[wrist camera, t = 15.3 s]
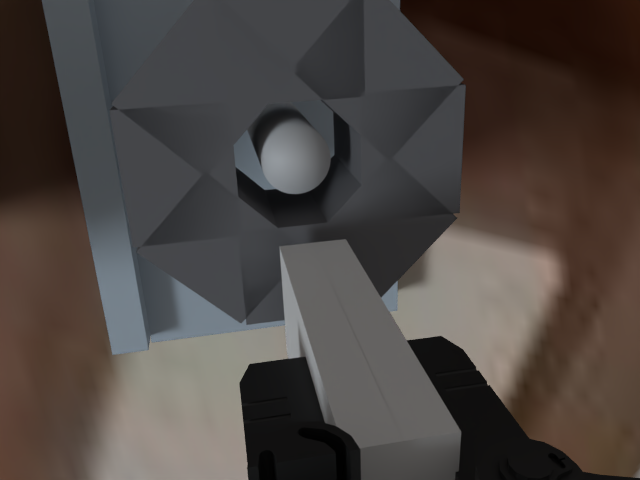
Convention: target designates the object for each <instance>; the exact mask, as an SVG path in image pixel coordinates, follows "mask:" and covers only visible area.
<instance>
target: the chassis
mask: <svg viewBox="0 0 640 480" xmlns="http://www.w3.org/2000/svg"><path fill="white" fill-rule="evenodd" d="M390 1H391V2H392V3H393V4H394V5H395V6H396V7H397V8H398V9H399V10H400V0H390ZM192 2H193V0H42V4H43V9H44V14H45V19H46V24H47V29H48V34H49V39H50V44H51V49H52V54H53V59H54V64H55V69H56V74H57V79H58V84H59V89H60V94H61V99H62V104H63V109H64V114H65V119H66V124H67V129H68V134H69V139H70V144H71V149H72V154H73V159H74V164H75V169H76V174H77V179H78V184H79V189H80V194H81V199H82V204H83V209H84V214H85V219H86V224H87V229H88V234H89V239H90V244H91V249H92V254H93V259H94V264H95V269H96V274H97V279H98V284H99V289H100V294H101V299H102V304H103V309H104V314H105V319H106V324H107V329H108V334H109V339H110V344H111V349H112V354H113V355H115V354H122V353H130V352H137V351H145V350H149V343H150V336H151V341H152V342H160V341H167V340H175V339H183V338H190V337H198V336H206V335H213V334H221V333H229V332H236V331H244V330H252V329H259V328H267V327H275V326H282V325H285V320H282V321H274V322H266V323H258V324H251V325H246V319H245V320H244V321H243V322H242V323H239V322H238V321H236V320H235V319H233V318H232V317H230V316H229V315H227V314H226V313H225V312H223V311H222V310H220V309H219V308H217V307H216V306H214V305H213V304H211V303H210V302H208V301H207V300H205V299H204V298H203V297H201V296H200V295H198V294H197V293H195V292H194V291H192V290H191V289H189V288H188V287H186V286H185V285H183V284H182V283H180V282H179V281H178V280H176V279H175V278H173V277H172V276H170V275H169V274H167V273H166V272H164V271H163V270H161V269H160V268H158V267H157V266H156V265H154V264H153V263H151V262H150V261H148V260H147V259H145V258H144V257H142V256H141V255H139V254H138V253H136V251H137V247H133V245H132V239H131V233H130V228H129V222H128V216H127V210H126V204H125V199H124V193H123V187H122V181H121V175H120V169H119V164H118V158H117V152H116V146H115V140H114V134H113V129H112V123H111V117H110V111H109V110H110V109H111V108H112V106H113V105H112V104H111V103H112V102H113V101H114V99H115V98H116V97H117V96H118V94H119V93H120V92H121V91H122V89H123V88H124V87H125V86H126V84H127V83H128V82H129V81H130V79H131V78H132V77H133V76H134V74H135V73H136V72H137V71H138V69H139V68H140V67H141V66H142V64H143V63H144V62H145V61H146V59H147V58H148V57H149V56H150V54H151V53H152V52H153V51H154V49H155V48H156V47H157V46H158V44H159V43H160V42H161V41H162V39H163V38H164V37H165V36H166V34H167V33H168V32H169V31H170V29H171V28H172V27H173V26H174V24H175V23H176V22H177V20H178V19H179V18H180V17H181V15H182V14H183V13H184V12H185V10H186V9H187V8H188V7H189V5H190V4H191V3H192ZM233 146H234V157H235V167H237V168H238V169H239V170H240V171H242V172H243V173H244V174H245V175H247V176H248V177H249V178H250V179H252V180H253V181H254V182H255V183H257V184H258V185H259V186H260V187H262V188H263V189H264V190H270V189H278V190H280V191H282V192H284V193H288V194H301V193H305V192H308V191H310V190H312V189H314V188H315V187H317V186H318V185H319V184H320V183H321V182H322V181H323V180H324V178H325V177H326V175H327V173H328V171H329V167H330V161H331V158H332V157H333V156H334V125H333V111H332V110H331V109H329V108H328V107H327V106H326V105H325V104H324V103H323V102H322V101H321V100H315V101H301V102H287V103H273V104H268V105H267V107H266V108H265V109H264V110H263V111H262V112H261V114H260V115H259V116H258V117H257V118H256V120H255V121H254V122H253V123H252V124H251V125H250V127H249V128H248V129H247V130H246V131H245V132H244V134H243V135H242V136H241V137H240V138H239V139H238V141H237V142H236V143H235V144H234V145H233ZM397 298H398V281H397V282H396V283H395V284H394V285H393V286H392V287H391V288H390V289H389V290H388V291H387V292H386V293H385V294H384V295H383V296H382V297H381V299H382V300H383V302H384V304H385V305H386V307H387V309H388V310H389V312H390V311H397Z"/></svg>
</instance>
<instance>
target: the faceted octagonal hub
mask: <svg viewBox="0 0 640 480" xmlns="http://www.w3.org/2000/svg"><path fill="white" fill-rule="evenodd" d="M463 80H464V79H463V78H462V77H461V76H460V75H459V74H458V73H457V72H456V70H455V69H454V68H453V67H452V66H451V65H450V64H449V63H448V62H447V61H446V60H445V59H444V58H443V57H442V55H441V54H440V53H439V52H438V51H437V50H436V49H435V48H434V47H433V46H432V45H431V44H430V43H429V42H428V40H427V39H426V38H425V37H424V36H423V35H422V34H421V33H420V32H419V31H418V30H417V29H416V28H415V27H414V25H413V24H412V23H411V22H410V21H409V20H408V19H407V18H406V17H405V16H404V15H403V14H402V13H401V12H400V10H399V9H398V8H397V7H396V6H395V5H394V4H393V3H392V2H391V1H390V0H193V2H192V3H191V4H190V5H189V7H188V8H187V9H186V10H185V12H184V13H183V14H182V15H181V17H180V18H179V19H178V20H177V22H176V23H175V24H174V26H173V27H172V28H171V29H170V31H169V32H168V33H167V34H166V36H165V37H164V38H163V39H162V41H161V42H160V43H159V44H158V46H157V47H156V48H155V49H154V51H153V52H152V53H151V54H150V56H149V57H148V58H147V59H146V61H145V62H144V63H143V64H142V66H141V67H140V68H139V69H138V71H137V72H136V73H135V74H134V76H133V77H132V78H131V79H130V81H129V82H128V83H127V84H126V86H125V87H124V88H123V89H122V91H121V92H120V93H119V94H118V96H117V97H116V98H115V99H114V101H113V102H112V103H111V104H112V105H113V106H112V108H111V109H110V110H109V111H110V117H111V123H112V129H113V134H114V140H115V146H116V152H117V158H118V164H119V169H120V175H121V181H122V187H123V193H124V199H125V204H126V210H127V216H128V222H129V228H130V233H131V239H132V245H133V247H137V251H136V253H138V254H139V255H141V256H142V257H144V258H145V259H147V260H148V261H150V262H151V263H153V264H154V265H156V266H157V267H158V268H160V269H161V270H163V271H164V272H166V273H167V274H169V275H170V276H172V277H173V278H175V279H176V280H178V281H179V282H180V283H182V284H183V285H185V286H186V287H188V288H189V289H191V290H192V291H194V292H195V293H197V294H198V295H200V296H201V297H203V298H204V299H205V300H207V301H208V302H210V303H211V304H213V305H214V306H216V307H217V308H219V309H220V310H222V311H223V312H225V313H226V314H227V315H229V316H230V317H232V318H233V319H235V320H236V321H238V322H239V323H242V322H243V321H244V320H245V319H246V325H251V324H258V323H266V322H274V321H282V320H285V317H284V303H283V289H282V275H281V261H280V247H279V246H287V245H296V244H305V243H314V242H324V241H333V240H342V239H346V240H347V242H348V244H349V245H350V247H351V249H352V250H353V252H354V254H355V255H356V257H357V259H358V260H359V262H360V264H361V265H362V267H363V269H364V270H365V272H366V274H367V275H368V277H369V279H370V280H371V282H372V284H373V285H374V287H375V289H376V290H377V292H378V294H379V295H380V297H382V296H383V295H384V294H385V293H386V292H387V291H388V290H389V289H390V288H391V287H392V286H393V285H394V284H395V283H396V282H397V281H398V280H399V278H400V277H401V276H402V275H403V274H404V273H405V272H406V271H407V270H408V269H409V268H410V267H411V266H412V265H413V264H414V263H415V262H416V261H417V260H418V259H419V258H420V256H421V255H422V254H423V253H424V252H425V251H426V250H427V249H428V248H429V247H430V246H431V245H432V244H433V243H434V242H435V241H436V240H437V239H438V238H439V237H440V235H441V234H442V233H443V232H444V231H445V230H446V229H447V228H448V227H449V226H450V225H451V224H452V223H453V222H454V221H455V220H456V219H457V217H455V216H454V215H453V213H459V212H460V191H461V171H462V151H463V130H464V110H465V90H466V85H464V84H461V82H462V81H463ZM315 100H321V101H322V102H323V103H324V104H325V105H326V106H327V107H328V108H329V109H331V110H332V111H333V125H334V156H333V157H332V158H331V161H330V167H329V171H328V173H327V175H326V177H325V178H324V180H323V181H322V182H321V183H320V184H319V185H318V186H317V187H315V188H314V189H312V190H310V191H308V192H305V193H301V194H288V193H284V192H282V191H280V190H278V189H270V190H264V189H263V188H262V187H260V186H259V185H258V184H257V183H255V182H254V181H253V180H252V179H250V178H249V177H248V176H247V175H245V174H244V173H243V172H242V171H240V170H239V169H238V168H237V167H235V157H234V146H233V145H234V144H235V143H236V142H237V141H238V139H239V138H240V137H241V136H242V135H243V134H244V132H245V131H246V130H247V129H248V128H249V127H250V125H251V124H252V123H253V122H254V121H255V120H256V118H257V117H258V116H259V115H260V114H261V112H262V111H263V110H264V109H265V108H266V107H267V105H268V104H273V103H287V102H301V101H315Z"/></svg>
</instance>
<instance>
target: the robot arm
mask: <svg viewBox="0 0 640 480" xmlns="http://www.w3.org/2000/svg"><path fill="white" fill-rule="evenodd" d="M279 247H280V261H281V275H282V289H283V303H284V317H285V331H286V345H287V354H288V358H289V359H283V360H276V361H269V362H262V363H254V364H249V366H248V368H247V370H246V372H245V374H244V376H243V378H242V379H241V381H240V393H241V402H242V412H243V422H244V432H245V442H246V452H247V462H248V467H247V470H248V479H249V480H640V478H631V477H619V476H608V475H598V474H592V473H586V472H582V470H581V469H580V468H579V467H578V465H577V464H576V463H575V462H574V461H572V460H571V459H570V458H569V457H568V456H567V455H566V454H565V453H564V452H562V451H560V450H558V449H556V448H554V447H552V446H551V445H549V444H547V443H545V442H541V441H536V440H532V439H529V438H528V436H527V435H526V434H525V432H524V431H523V430H522V428H521V427H520V426H519V424H518V423H517V422H516V420H515V419H514V418H513V416H512V415H511V413H510V412H509V411H508V409H507V408H506V407H505V405H504V404H503V403H502V401H501V400H500V399H499V397H498V396H497V395H496V393H495V392H494V391H493V389H492V388H491V387H490V385H489V386H488V385H487V381H486V380H485V379H484V377H483V376H482V375H481V373H480V372H479V371H477V370H476V366H475V365H474V364H473V362H472V361H471V360H470V358H469V357H468V356H467V354H466V353H465V352H464V350H463V349H461V348H460V347H458V346H456V345H455V344H453V343H452V342H450V341H448V340H447V339H445V338H443V337H442V336H437V337H430V338H423V339H415V340H408V341H407V340H406V339H405V337H404V335H403V334H402V332H401V330H400V329H399V327H398V325H397V324H396V322H395V320H394V319H393V317H392V315H391V314H390V312H389V310H388V309H387V307H386V305H385V304H384V302H383V300H382V299H381V297H380V295H379V294H378V292H377V290H376V289H375V287H374V285H373V284H372V282H371V280H370V279H369V277H368V275H367V274H366V272H365V270H364V269H363V267H362V265H361V264H360V262H359V260H358V259H357V257H356V255H355V254H354V252H353V250H352V249H351V247H350V245H349V244H348V242H347V240H346V239H342V240H333V241H324V242H314V243H305V244H296V245H287V246H279Z"/></svg>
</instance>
